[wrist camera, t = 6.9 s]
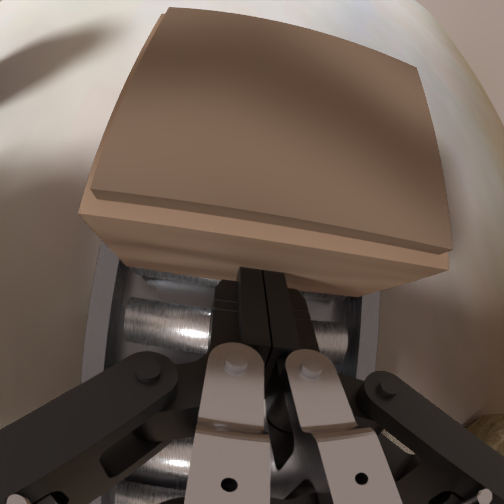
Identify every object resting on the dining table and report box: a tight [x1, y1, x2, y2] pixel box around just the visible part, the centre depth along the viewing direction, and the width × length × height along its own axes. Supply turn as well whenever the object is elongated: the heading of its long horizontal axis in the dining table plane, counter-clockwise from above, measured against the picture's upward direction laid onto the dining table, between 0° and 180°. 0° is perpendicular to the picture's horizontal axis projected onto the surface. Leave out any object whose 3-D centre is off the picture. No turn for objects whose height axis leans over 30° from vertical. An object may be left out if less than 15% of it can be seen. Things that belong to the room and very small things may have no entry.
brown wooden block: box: [78, 7, 452, 297], centre depth 11 cm, size 8×10×7 cm
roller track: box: [81, 240, 380, 504], centre depth 12 cm, size 24×13×7 cm, turn 173°
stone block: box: [466, 414, 504, 457], centre depth 13 cm, size 6×12×5 cm, turn 18°
